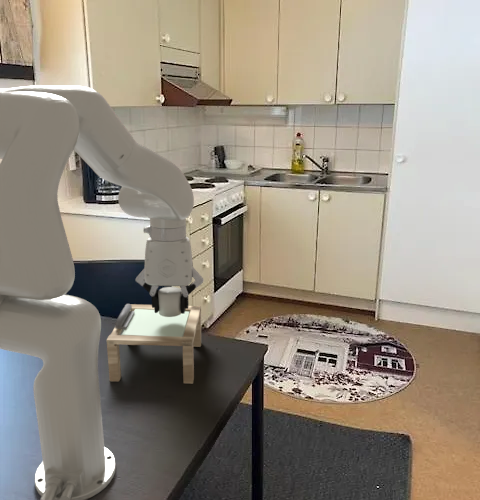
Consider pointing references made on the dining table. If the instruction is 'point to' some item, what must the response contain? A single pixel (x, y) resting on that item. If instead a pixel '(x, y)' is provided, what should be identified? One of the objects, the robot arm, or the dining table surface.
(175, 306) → the stone
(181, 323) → the trapdoor
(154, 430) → the dining table surface
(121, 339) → the trapdoor frame
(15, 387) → the dining table surface
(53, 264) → the robot arm
